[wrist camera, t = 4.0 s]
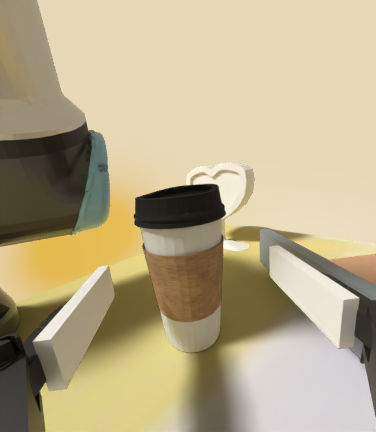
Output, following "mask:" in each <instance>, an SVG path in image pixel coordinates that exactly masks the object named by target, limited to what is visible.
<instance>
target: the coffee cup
mask: <svg viewBox="0 0 376 432" xmlns="http://www.w3.org/2000/svg"><path fill="white" fill-rule="evenodd" d="M225 215H226V211H225V205H224V204H223V203H222V201H221V196H220V191H219V186H218V185H216V184H196V185H185V186H178V187H172V188H168V189H164V190H160V191H156V192H153V193H150V194H146V195H143V196H140V197H137V198H135V214H134V219H135V225H136V226H138V227H140V229H141V233H142V237H143V241H144V243H143V246H142V247H143V251H144V254H145V258H146V262H147V265H148V269H149V273H150V276H151V280H152V284H153V287H154V291H155V295H156V298H157V302H158V306H159V309H160V312H161V316H162V320H163V325H164V329H165V333H166V336H167V339H168V341H169V342H170V344H171V345H172V346H173V347H175V348H176V349H178V350H180V351H183V352H188V353H194V352H200V351H203V350H205V349H207V348H209V347H210V346H211V345H213V344H214V342H215V341H216V340H217V338H218V337H219V334H220V326H221V293H222V268H223V242H224V237H223V235H222V218H223V217H224V216H225Z"/></svg>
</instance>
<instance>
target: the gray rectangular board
mask: <svg viewBox="0 0 376 432" xmlns="http://www.w3.org/2000/svg"><path fill="white" fill-rule="evenodd" d="M276 245H279V246H280V247H282V248H283V249H285V250H287V251H288V252H290V253H291V254H293V255H294V256H296V257H297V258H299V259H300V260H302V261H303V262H305V263H307V264H308V265H310V266H311V267H313V268H314V269H316V270H317V271H319V272H320V273H321V272H324V273H326V274H329V275H331V276H333V277H335V278H337V279H338V280H340V281H341V282H343V283H345V284H346V285H347V286H350V287H351V288H353V289H354V290H356V291H358V292H359V293H361V294H362V295H364V296H366V297H367V298H369V299H370V300H376V285H374V284H372V283H371V282H369V281H367V280H365V279H363V278H361V277H359V276H357V275H355V274H354V273H352V272H350V271H348V270H346V269H344V268H342V267H340V266H338V265H337V264H335V263H333V262H331V261H329V260H327V259H325V258H323V257H322V256H320V255H318V254H316V253H314V252H312V251H310V250H308V249H306V248H305V247H303V246H301V245H299V244H297V243H295V242H293V241H291V240H289V239H288V238H286V237H284V236H282V235H280V234H278V233H276V232H274V231H273V230H271V229H269V228H265V229H260V262H261V263H262V264H263V265H264V266H265V267H266V268H268V269H269V270H270V263H269V246H276ZM362 346H363V343H362V342H361V341H360V340H359V339H358V338H356V337H355V340H354V347H349V349H351V350H352V351H353V352H354V353H355V354H356V355H357V356H358V357H359V358H360V359H361V353H362ZM364 363H365V362H364Z"/></svg>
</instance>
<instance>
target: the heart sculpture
mask: <svg viewBox="0 0 376 432" xmlns="http://www.w3.org/2000/svg"><path fill="white" fill-rule="evenodd" d="M186 179H187V180H186V185H196V184H216V185H218V186H219V191H220V196H221V201H222V203H223V204H224V205H225V211H226V215H225V216H224V217H223V218H222V235H223V237H224V242H223V248H224V249H228V250H233V251H237V252H239V251H243V250H246V249H248V248H249V244H248V243H243V242H238V241H233V240H227V239H225V222H224V220H225V219H226V218H227V217H229V216H231V215H232V214H234V213H236V212H237V211H239V210H240V209H241V208H242V207H243V206H244V205H245V204H246V203H247V202H248V200H249V198H250V196H251V194H252V193H253V187H254V174H253V169H252V168H250V167H249V166H248V165H244V164H240V163H221V164H218V165H216V166H202V167H198V168H196V169H193V170H192V171H190V172H189V173H188V175H187V177H186Z"/></svg>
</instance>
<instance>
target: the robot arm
mask: <svg viewBox="0 0 376 432" xmlns="http://www.w3.org/2000/svg"><path fill="white" fill-rule="evenodd" d="M109 208H110V183H109V173H108V164H107V151H106V145H105V141H104V138H103V136H102V135H101V134H100V133H97V132H95V131H94V130H89V131H88V128H87V123H86V118H85V115H84V113H83V112H82V111H81V110H80V109H79V108H78V107H77V106H76V105H74V104H73V103H72V102H71V101H70V100H69V99H67V98H66V97H65V96H64V95H63V93H62V91H61V88H60V85H59V81H58V77H57V73H56V70H55V66H54V62H53V58H52V55H51V51H50V47H49V43H48V40H47V36H46V32H45V28H44V25H43V21H42V17H41V13H40V10H39V6H38V2H37V0H0V247H1V246H7V245H13V244H18V243H24V242H30V241H35V240H41V239H47V238H52V237H57V236H64V235H69V234H70V235H73V234H76V233H77V232H80V231H84V230H88V229H92V228H97V227H99V226H101V225H102V224H103V223H105V222H106V220H107V218H108V215H109ZM269 263H270V277H271V278H272V279H273V281H274V282H275V283H276V284H277V285H278V286H279V287H280V288H281V289H282V290H283V291H284V292H285V293H286V294H287V295H288V296H289V297H290V298H291V299H292V300H293V302H294V303H295V304H296V305H297V306H298V307H299V308H300V309H301V310H302V311H303V312H304V313H305V314H306V315H307V316H308V317H309V318H310V319H311V320H312V321H313V323H314V324H315V325H316V326H317V327H318V328H319V329H320V330H321V331H322V332H323V333H324V334H325V335H326V336H327V337H328V338H329V339H330V340H331V341H332V342H333V343H334V345H335V346H336V347H337V348H338V349H342V348H349V347H354V340H355V337H356V338H358V339H359V340H360V341H361V342H362V343H363V346H362V353H361V361H360V362H361V363H363V364H364V362H365V367H366V372H367V376H368V381H369V386H370V391H371V396H372V401H373V406H374V411H375V416H376V300H370V299H369V298H367V297H366V296H364V295H362V294H361V293H359V292H358V291H356V290H354V289H353V288H351V287H350V286H347V285H346V284H345V283H343V282H341V281H340V280H338V279H337V278H335V277H333V276H331V275H329V274H326V273H324V272H321V273H320V272H319V271H317V270H316V269H314V268H313V267H311V266H310V265H308V264H307V263H305V262H303V261H302V260H300V259H299V258H297V257H296V256H294V255H293V254H291V253H290V252H288V251H287V250H285V249H283V248H282V247H280V246H279V245H276V246H269ZM114 297H115V292H114V287H113V283H112V278H111V273H110V269H109V266H101V267H98V269H97V270H96V271H95V272H94V273H93V274H92V275H91V276H90V278H89V279H88V280H87V281H86V282H85V283H84V284H83V285H82V287H81V288H80V289H79V290H78V291H77V292H76V293H75V294H74V296H73V297H72V298H71V299H70V300H69V301H68V302H67V303H66V305H65V306H61V307H59V308H58V309H56V310H55V311H54V312H52V313H51V314H50V315H49V316H48V317H47V318H46V320H45V322H43V323H42V324H41V325H40V326H39V328H37V329H36V330H35V331H34V332H33V333H32V334H31V336H30V337H29V338H28V339H27V340H26V341H25V342H24V343H23V344H22V341H21V338H20V336H19V334H16V333H14V332H15V330H16V329H17V327H18V325H19V321H20V316H19V313H18V310H17V307H16V304H15V302H14V301H13V299H12V298H11V297H10V296H9V295H7V294H6V293H5V292H4V291H3V290H2V289H1V288H0V432H45V424H44V415H43V406H42V397H41V394H40V390H41V388H42V387H43V385H44V383H45V382H46V383H47V386H48V389H49V391H54V390H61V389H66V388H67V387H68V385H69V383H70V381H71V379H72V377H73V375H74V373H75V371H76V369H77V368H78V366H79V364H80V362H81V360H82V358H83V356H84V354H85V352H86V351H87V349H88V347H89V345H90V343H91V341H92V339H93V337H94V335H95V333H96V332H97V330H98V328H99V326H100V324H101V322H102V320H103V318H104V316H105V315H106V313H107V311H108V309H109V307H110V305H111V303H112V301H113V299H114Z"/></svg>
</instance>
